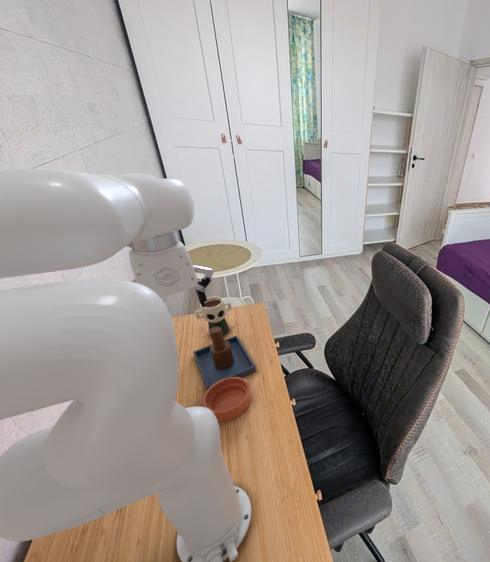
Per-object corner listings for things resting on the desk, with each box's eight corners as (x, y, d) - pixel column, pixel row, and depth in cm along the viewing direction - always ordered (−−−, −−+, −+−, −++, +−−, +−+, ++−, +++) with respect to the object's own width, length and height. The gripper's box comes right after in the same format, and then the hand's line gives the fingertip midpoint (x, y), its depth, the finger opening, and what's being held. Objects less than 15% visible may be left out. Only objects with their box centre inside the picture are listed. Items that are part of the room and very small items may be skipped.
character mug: (204, 343, 95) (194, 312, 89) (200, 331, 100) (191, 301, 94) (238, 332, 101) (231, 302, 95) (233, 321, 106) (226, 292, 100)
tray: (256, 372, 86) (255, 366, 85) (209, 394, 79) (206, 387, 77) (238, 340, 97) (236, 335, 96) (194, 357, 90) (192, 351, 88)
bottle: (236, 364, 88) (228, 331, 81) (217, 372, 85) (207, 338, 78) (231, 354, 91) (222, 321, 84) (212, 361, 88) (202, 328, 81)
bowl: (258, 406, 76) (255, 397, 74) (212, 431, 70) (209, 421, 68) (244, 380, 84) (241, 370, 82) (201, 399, 77) (198, 390, 75)
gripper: (95, 256, 49) (132, 334, 57) (207, 238, 58) (224, 306, 67) (96, 243, 53) (130, 316, 62) (199, 228, 63) (216, 292, 72)
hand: (179, 311), depth 64 cm, fingers open, 9 cm apart
